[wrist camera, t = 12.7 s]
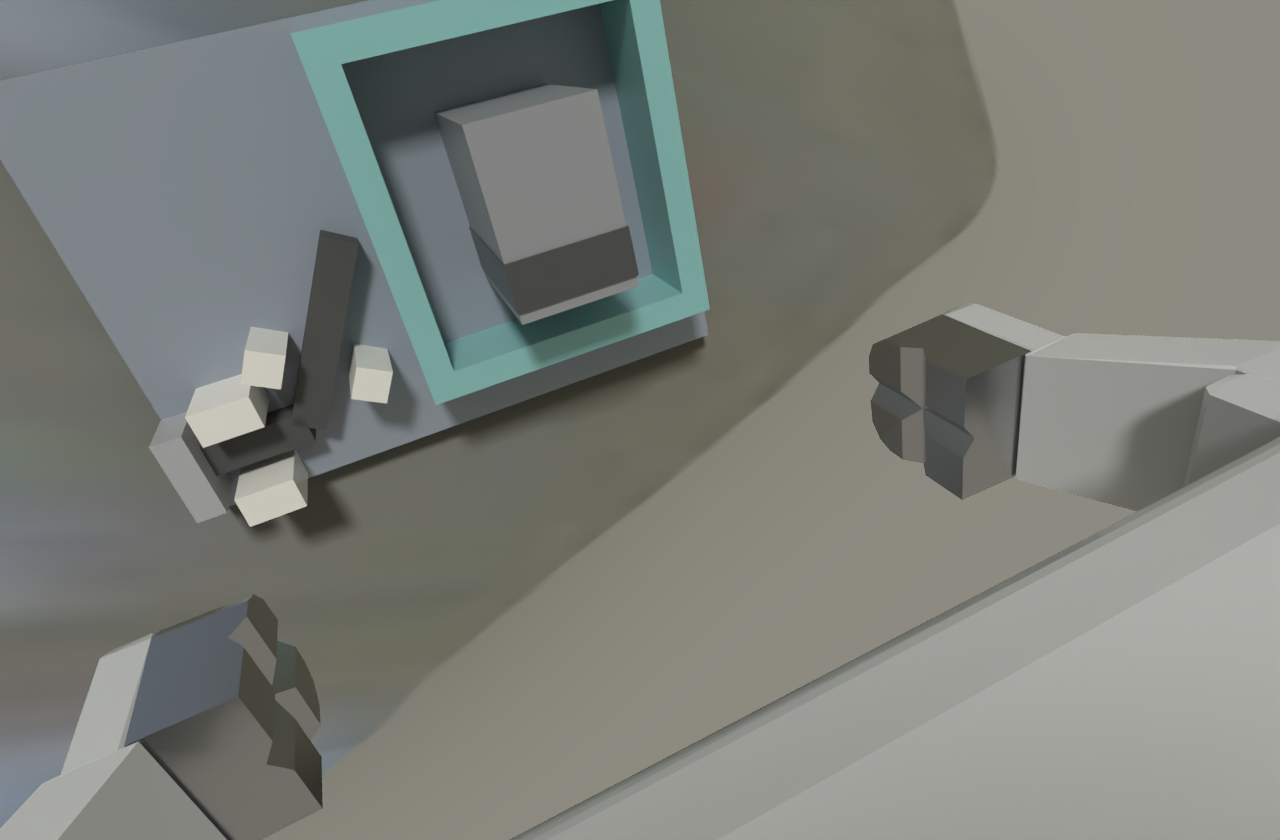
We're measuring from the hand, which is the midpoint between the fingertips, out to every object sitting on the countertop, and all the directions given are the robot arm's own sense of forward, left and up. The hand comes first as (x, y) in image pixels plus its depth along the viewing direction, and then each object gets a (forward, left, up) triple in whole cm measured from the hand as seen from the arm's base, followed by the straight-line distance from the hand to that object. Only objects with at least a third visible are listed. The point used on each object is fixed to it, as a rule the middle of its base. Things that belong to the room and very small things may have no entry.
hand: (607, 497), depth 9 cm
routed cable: (+3, -6, -20) cm, 22 cm away
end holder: (0, +4, -21) cm, 22 cm away
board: (+1, 0, -21) cm, 21 cm away
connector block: (0, +4, -20) cm, 21 cm away
